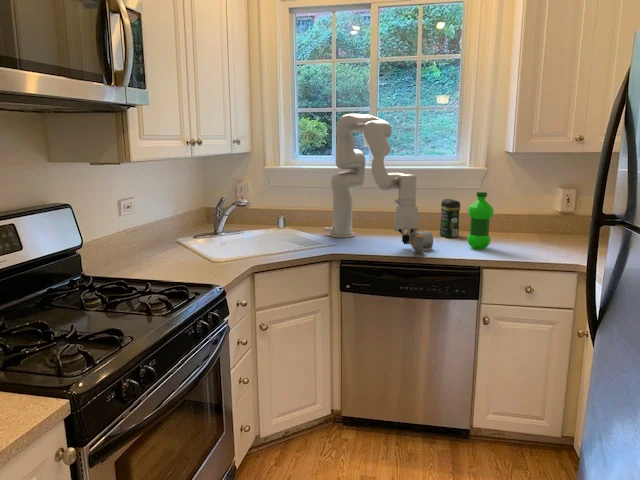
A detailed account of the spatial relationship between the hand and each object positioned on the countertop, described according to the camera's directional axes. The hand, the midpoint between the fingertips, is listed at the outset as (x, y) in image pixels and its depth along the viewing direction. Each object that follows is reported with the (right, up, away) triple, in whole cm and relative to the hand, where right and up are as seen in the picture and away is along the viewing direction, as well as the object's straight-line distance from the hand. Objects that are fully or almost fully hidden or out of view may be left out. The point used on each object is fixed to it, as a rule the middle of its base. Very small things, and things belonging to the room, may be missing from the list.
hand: (405, 243), depth 221 cm
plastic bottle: (+33, -2, +1) cm, 33 cm away
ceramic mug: (+8, -3, -1) cm, 8 cm away
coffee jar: (+26, +3, +26) cm, 37 cm away
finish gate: (+4, -2, 0) cm, 5 cm away
